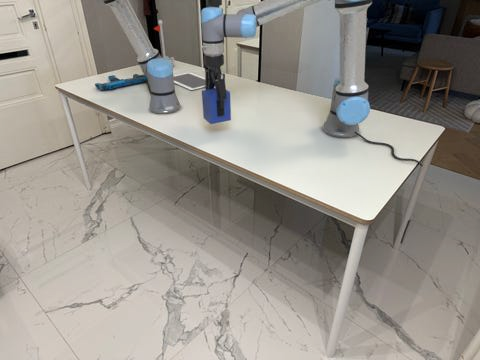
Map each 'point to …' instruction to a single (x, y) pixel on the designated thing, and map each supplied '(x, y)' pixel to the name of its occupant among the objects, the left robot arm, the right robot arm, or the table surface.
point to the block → (215, 106)
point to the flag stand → (159, 28)
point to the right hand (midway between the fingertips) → (216, 112)
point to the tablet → (189, 81)
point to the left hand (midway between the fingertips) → (216, 41)
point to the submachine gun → (121, 82)
